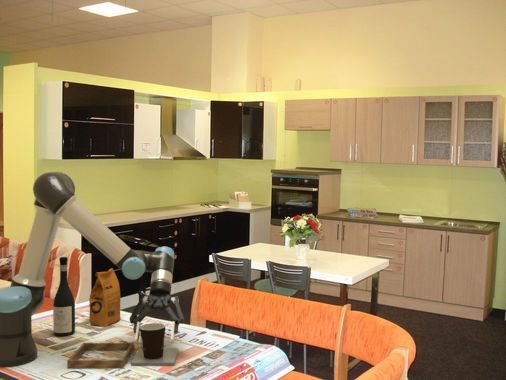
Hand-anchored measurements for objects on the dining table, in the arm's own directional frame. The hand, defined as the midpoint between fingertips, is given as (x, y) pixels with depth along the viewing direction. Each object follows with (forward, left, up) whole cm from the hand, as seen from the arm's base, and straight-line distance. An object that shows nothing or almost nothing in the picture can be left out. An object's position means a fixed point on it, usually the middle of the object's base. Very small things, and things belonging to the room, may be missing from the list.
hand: (154, 341), depth 180 cm
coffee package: (-28, +46, -7) cm, 54 cm away
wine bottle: (-40, +31, -7) cm, 51 cm away
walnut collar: (-18, +3, -7) cm, 19 cm away
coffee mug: (0, +3, -6) cm, 7 cm away
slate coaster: (0, +3, -7) cm, 7 cm away
